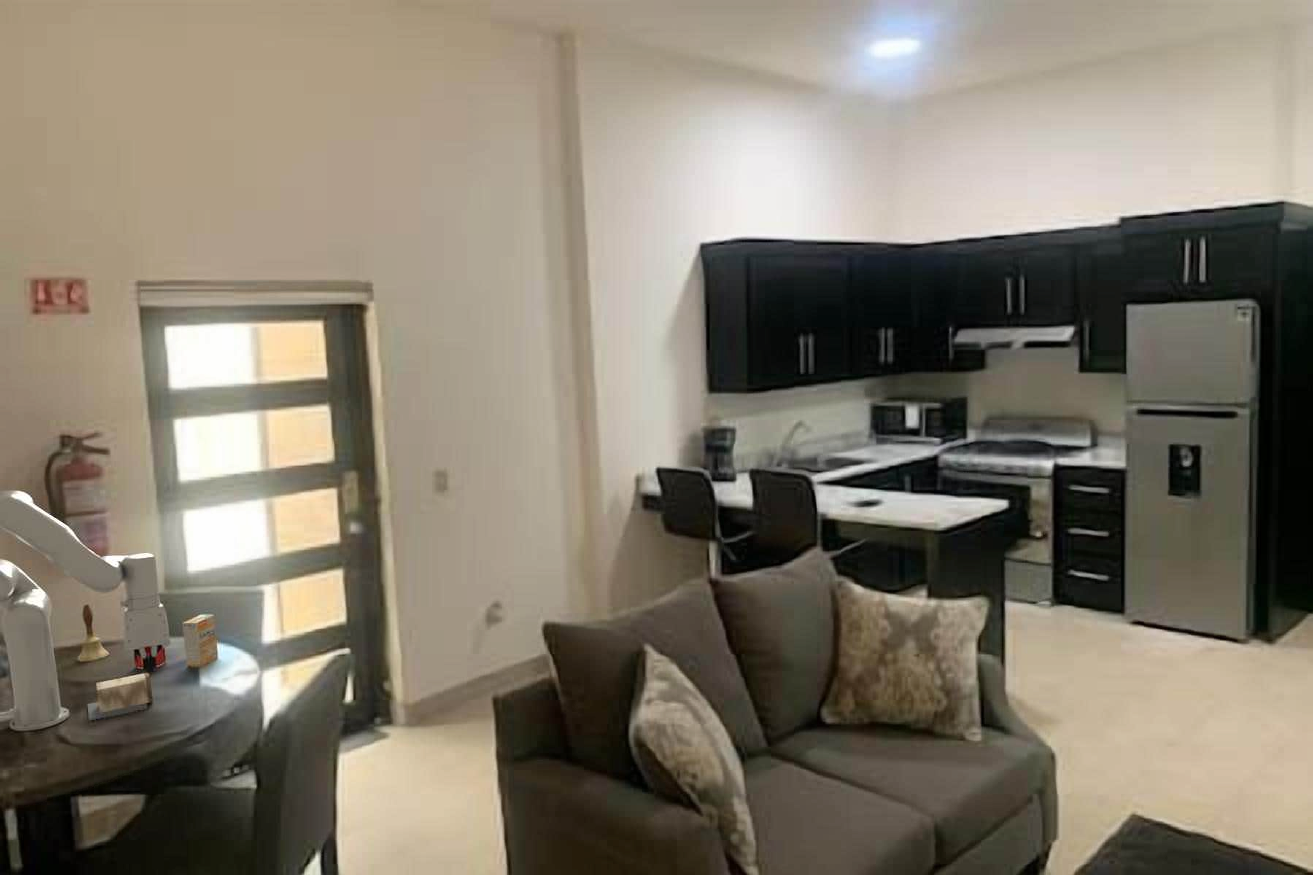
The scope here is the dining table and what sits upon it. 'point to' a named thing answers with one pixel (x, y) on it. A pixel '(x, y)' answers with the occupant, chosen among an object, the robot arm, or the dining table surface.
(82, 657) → the hand bell
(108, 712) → the mat
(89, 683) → the dining table surface
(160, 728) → the dining table surface
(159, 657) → the canned food
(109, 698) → the maple block
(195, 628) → the supplement box
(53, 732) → the dining table surface
